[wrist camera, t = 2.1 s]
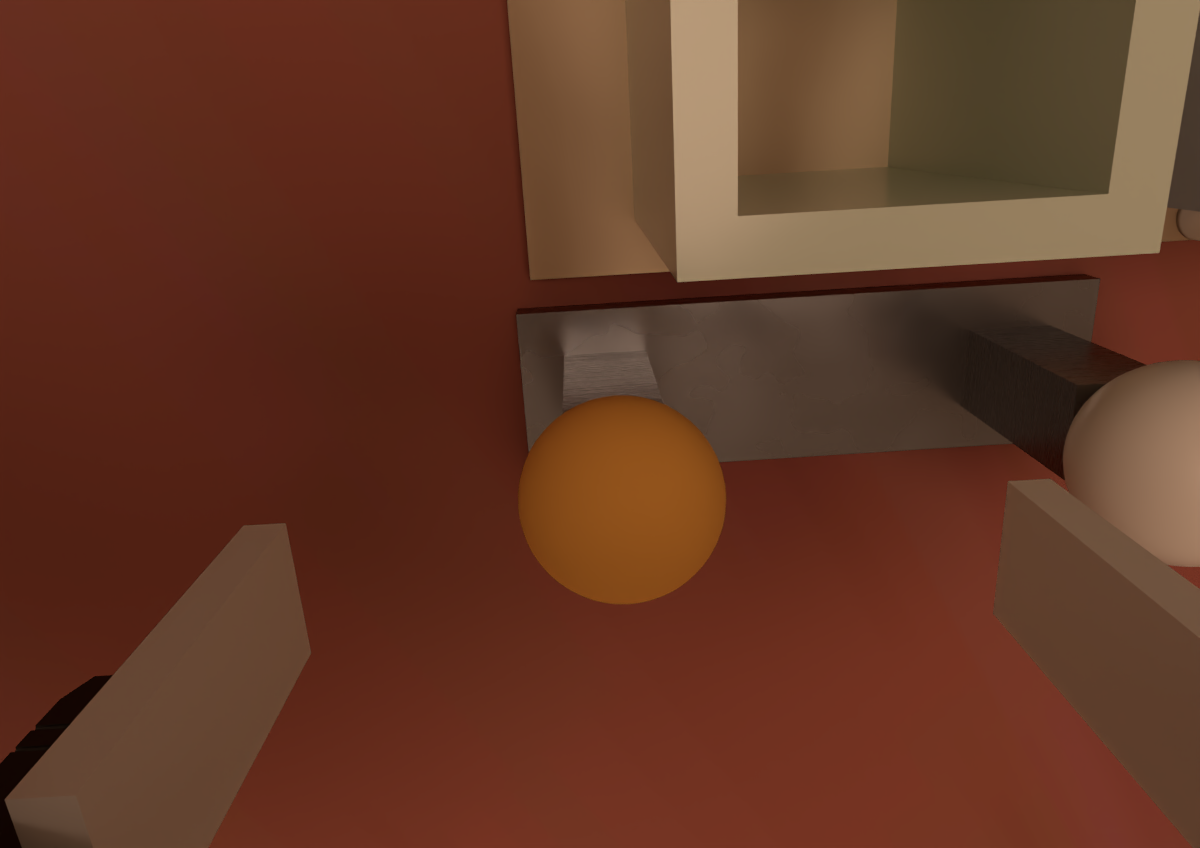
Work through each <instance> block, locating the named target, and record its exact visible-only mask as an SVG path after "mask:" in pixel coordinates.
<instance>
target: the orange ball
mask: <svg viewBox="0 0 1200 848" xmlns="http://www.w3.org/2000/svg"><path fill="white" fill-rule="evenodd" d="M518 510H519V517H520V523H521V526H522V529H523V532H524V535H525V538H526V541H527V543H528V545H529V547H530V549H531V551H532V553H533V554H534V556H535V557H536V559H537V560H538V562H539V563H540V564H541V566H542V567H543V568H544V569H545V570H546V571H547V572H548V574H549V575H550V576H552V577H553V578H554V579H555V580H556V581H557V582H559V583H560V584H562V585H563V586H565V587H566V588H568V589H569V590H571V591H573V592H575V593H577V594H579V595H581V596H583V597H586V598H588V599H591V600H594V601H599V602H603V603H610V604H634V603H642V602H646V601H650V600H654V599H656V598H659V597H662V596H664V595H666V594H668V593H670V592H672V591H674V590H676V589H677V588H679V587H680V586H682V585H683V584H685V583H686V582H687V581H688V580H689V579H691V578H692V577H693V576H694V575H695V574H696V573H697V572H698V571H699V569H700V568H701V567H702V566H703V565H704V564H705V562H706V561H707V560H708V558H709V557H710V555H711V554H712V552H713V550H714V548H715V546H716V544H717V542H718V539H719V536H720V533H721V531H722V528H723V523H724V519H725V510H726V488H725V482H724V477H723V473H722V469H721V466H720V463H719V461H718V458H717V456H716V454H715V452H714V450H713V449H712V447H711V445H710V443H709V442H708V440H707V439H706V438H705V436H704V435H703V434H702V432H701V431H700V430H699V429H698V428H697V427H696V426H695V425H694V424H693V423H692V422H691V421H690V420H688V419H687V418H686V417H684V416H683V415H682V414H680V413H679V412H677V411H676V410H674V409H672V408H670V407H669V406H667V405H665V404H662V403H660V402H657V401H655V400H651V399H647V398H643V397H637V396H629V395H615V396H607V397H601V398H597V399H593V400H589V401H587V402H584V403H582V404H579V405H577V406H575V407H573V408H571V409H570V410H568V411H566V412H565V413H563V414H562V415H560V416H559V417H558V418H556V419H555V420H554V421H553V422H552V423H551V424H550V425H549V426H548V427H547V428H546V429H545V430H544V431H543V433H542V434H541V435H540V436H539V438H538V439H537V440H536V442H535V443H534V445H533V447H532V448H531V450H530V452H529V454H528V456H527V459H526V461H525V463H524V466H523V470H522V473H521V477H520V481H519V490H518Z"/></svg>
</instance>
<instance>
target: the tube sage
mask: <svg viewBox="0 0 1200 848" xmlns="http://www.w3.org/2000/svg"><path fill="white" fill-rule="evenodd" d="M625 7H626V32H627V56H628V81H629V106H630V130H631V155H632V179H633V204H634V220H635V221H636V223H637V224H638V226H639V227H640V229H641V230H642V232H643V233H644V235H645V236H646V237H647V239H648V240H649V242H650V243H651V245H652V246H653V248H654V249H655V251H656V252H657V254H658V255H659V256H660V258H661V259H662V261H663V262H664V264H665V265H666V267H667V268H668V270H669V271H670V272H671V274H672V275H673V277H674V278H675V280H676V281H677V282H689V281H706V280H722V279H738V278H755V277H771V276H788V275H804V274H820V273H837V272H853V271H870V270H886V269H902V268H919V267H935V266H952V265H968V264H985V263H1001V262H1017V261H1034V260H1050V259H1067V258H1083V257H1099V256H1116V255H1132V254H1149V253H1159V252H1160V246H1161V240H1162V234H1163V228H1164V222H1165V216H1166V210H1167V204H1168V198H1169V192H1170V186H1171V180H1172V174H1173V168H1174V162H1175V156H1176V150H1177V144H1178V138H1179V132H1180V126H1181V120H1182V114H1183V108H1184V102H1185V96H1186V90H1187V84H1188V78H1189V72H1190V66H1191V60H1192V54H1193V48H1194V42H1195V36H1196V30H1197V24H1198V18H1199V12H1200V0H897V13H896V31H895V48H894V66H893V83H892V101H891V118H890V136H889V153H888V167H874V168H857V169H841V170H824V171H807V172H790V173H773V174H757V175H740V176H738V0H625Z"/></svg>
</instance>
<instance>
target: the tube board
mask: <svg viewBox="0 0 1200 848" xmlns="http://www.w3.org/2000/svg"><path fill="white" fill-rule="evenodd" d="M507 6H508V18H509V30H510V42H511V54H512V66H513V78H514V90H515V102H516V114H517V126H518V138H519V150H520V162H521V174H522V186H523V198H524V210H525V222H526V234H527V246H528V258H529V270H530V280H540V279H556V278H572V277H589V276H605V275H622V274H638V273H655V272H670V271H669V270H668V268H667V267H666V265H665V264H664V262H663V261H662V259H661V258H660V256H659V255H658V254H657V252H656V251H655V249H654V248H653V246H652V245H651V243H650V242H649V240H648V239H647V237H646V236H645V235H644V233H643V232H642V230H641V229H640V227H639V226H638V224H637V223H636V221H635V220H634V204H633V179H632V155H631V130H630V106H629V81H628V56H627V32H626V7H625V0H507ZM896 13H897V0H738V176H740V175H757V174H773V173H790V172H807V171H824V170H841V169H857V168H874V167H888V153H889V136H890V118H891V101H892V83H893V66H894V48H895V31H896ZM1181 240H1200V212H1198V211H1190V210H1183V209H1175V208H1168V207H1167V210H1166V216H1165V222H1164V228H1163V234H1162V240H1161V242H1165V241H1181Z"/></svg>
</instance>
